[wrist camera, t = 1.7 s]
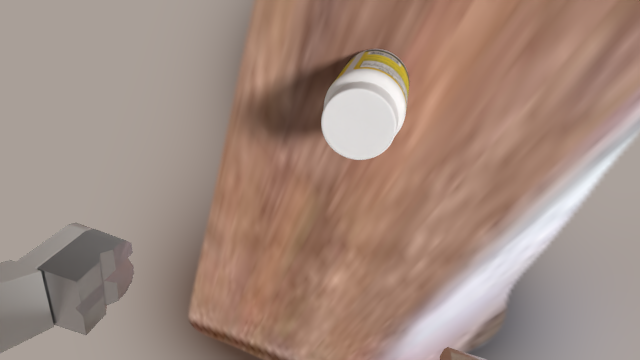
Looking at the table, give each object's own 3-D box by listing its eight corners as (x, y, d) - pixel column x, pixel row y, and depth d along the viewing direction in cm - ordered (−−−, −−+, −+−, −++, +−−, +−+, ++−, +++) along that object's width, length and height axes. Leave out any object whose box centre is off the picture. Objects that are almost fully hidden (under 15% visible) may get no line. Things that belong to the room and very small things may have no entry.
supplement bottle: (356, 123, 29) (332, 176, 22) (331, 63, 27) (297, 100, 20) (419, 102, 27) (415, 153, 20) (397, 36, 25) (385, 66, 18)
